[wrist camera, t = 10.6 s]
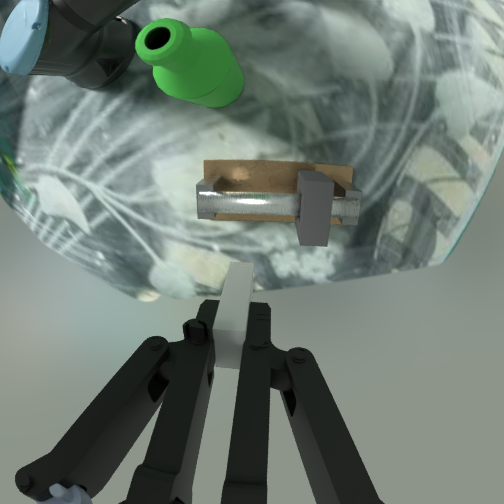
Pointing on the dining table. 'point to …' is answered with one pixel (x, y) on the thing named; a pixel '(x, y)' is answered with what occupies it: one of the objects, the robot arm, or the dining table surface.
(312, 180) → the grey sliding block
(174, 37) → the bottle
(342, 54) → the dining table surface
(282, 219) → the pipe stand
